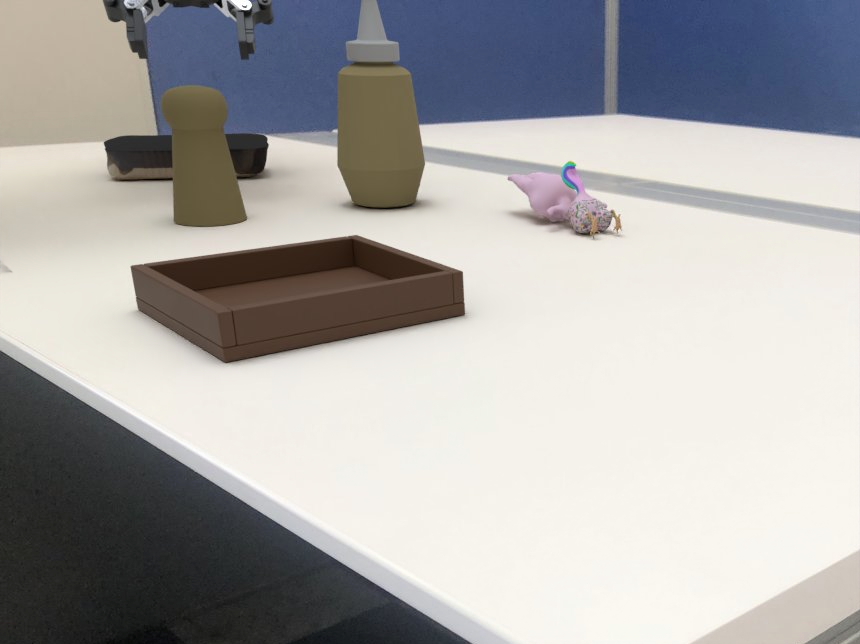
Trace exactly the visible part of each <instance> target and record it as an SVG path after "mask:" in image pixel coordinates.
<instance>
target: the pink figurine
mask: <svg viewBox="0 0 860 644" xmlns="http://www.w3.org/2000/svg"><path fill="white" fill-rule="evenodd" d="M576 167H577V163H575V162H574V161H572V160H569V161H567V162H566V163H565V164H564V165H563V166H562V169H561V174H557V173H548V172H544V171H536V172H532V173H531V172H530V173H529V174H526V175H523V174H521V173H513V174H509V175H508V176H507V181H508V182H512V183H513V184H514V185H515V186H516V187H517V188H518V189H519V191H521V192H522V193H523V194H525V195H526V196H527V198H528V202H529V206H530V208H531V209H532V210H533V211H534V213H536V214H537V215H539V216H541V217H543V218H547V219H548V220H549V221H550V222H552V223H557V222H562V221H564V219H565V220H567V221H569V222H571V225H572V227H573V229H574V230H575V231H576V232H577V233H578V234H581V233H585V234H588V233H589V234H590V235H591V236H592V238H593V237H594V238H595V233H596V232H597V233H598V234H601V232H606V230H608V229H609V227H610V226H611V224H612V220H613V218H614V220H615V225H614V227H613V229H612V231H613V232H615V231H616V234H617V235H618V234H619V230H620V231H624V230H623V229H622V224H621V218H620V217H621V213H619V214H618V216H617V214H616V211H615V209H610V210H609V209H607V208H608V204H607V203H605V202H602V201H601V200H600V199H598V198H596V197H593V196H592V195H590V194H589V193H587V191H586V189H585V185H584V182H583V181H582V179H581V178H580V176H579V173H578V172H577V169H576Z"/></svg>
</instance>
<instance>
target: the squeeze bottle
mask: <svg viewBox="0 0 860 644" xmlns="http://www.w3.org/2000/svg"><path fill="white" fill-rule="evenodd" d="M359 11H360V12H359V18H358V19H359V20H358V28H357V36H356V39H354V40H348V41H346V42H345V51H346V60H347V61H349V62H353V63H351V64H348V65H346V66H344V67H342V68H341V69H340V70H339V71H338V72H337V145H336V146H337V149H336V151H337V152H336V154H337V160H336V161H337V162H336V163H337V168H338V170H339V172H340V175H341V177H342V180H343V182H344V184H345V187H346V189H347V192H348V194H349V196H350V199H351V201H352V203H353V204H355V205H357V206H361V207H366V208H374V209H392V208H400V207H404V206H408V205H412V204H414V203H415V202H416V201H417V198H418V194H419V190H420V186H421V182H422V178H423V174H424V170H425V166H426V160H425V154H424V147H423V142H422V141H423V140H422V135H421V128H420V124H419V123H420V122H419V118H418V109H417V103H416V98H415V90H414V85H413V78H412V73H411V72H410V71H409V70H408V69H407V68H405V67H403V66H401V65H398V64H396V63H397V62H399V61H401V59H400V44H399V42H398V41H393V40H389V39H388V38H387V35H386V34H387V33H386V31H385V27H384V24H383V19H382V17H381V13H380V9H379V4H378V2H377V0H361V1H360V10H359Z"/></svg>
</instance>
